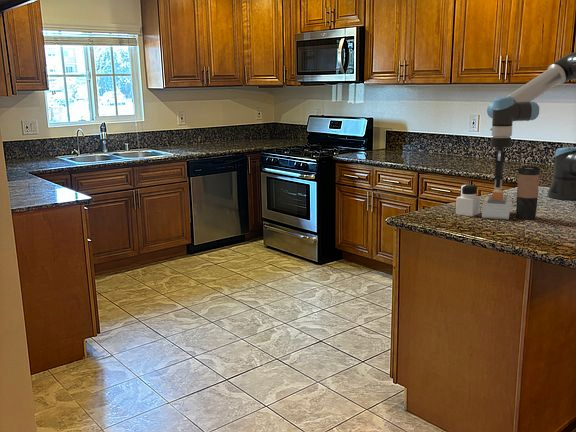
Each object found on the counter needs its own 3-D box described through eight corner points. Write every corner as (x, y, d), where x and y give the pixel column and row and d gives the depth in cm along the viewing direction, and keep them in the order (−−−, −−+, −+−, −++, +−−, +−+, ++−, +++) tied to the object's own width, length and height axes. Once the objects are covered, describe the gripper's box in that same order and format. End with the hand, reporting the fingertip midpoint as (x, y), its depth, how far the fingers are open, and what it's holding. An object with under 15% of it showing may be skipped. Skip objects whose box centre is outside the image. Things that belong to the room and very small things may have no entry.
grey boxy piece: (510, 212, 234) (511, 194, 232) (508, 219, 221) (509, 201, 220) (484, 210, 238) (485, 193, 236) (481, 217, 225) (482, 199, 223)
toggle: (502, 199, 229) (503, 190, 228) (502, 200, 227) (503, 191, 226) (492, 198, 231) (493, 189, 230) (491, 200, 228) (492, 190, 227)
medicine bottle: (479, 213, 232) (481, 184, 229) (472, 216, 227) (473, 187, 224) (463, 211, 237) (464, 183, 234) (455, 214, 232) (456, 185, 229)
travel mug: (538, 220, 219) (542, 169, 214) (517, 219, 220) (520, 168, 216) (533, 215, 226) (537, 166, 222) (513, 215, 228) (517, 166, 223)
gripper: (492, 135, 232) (489, 191, 238) (490, 138, 221) (486, 197, 226) (512, 135, 229) (508, 192, 235) (510, 138, 218) (506, 198, 223)
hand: (497, 195), depth 230 cm, fingers closed
